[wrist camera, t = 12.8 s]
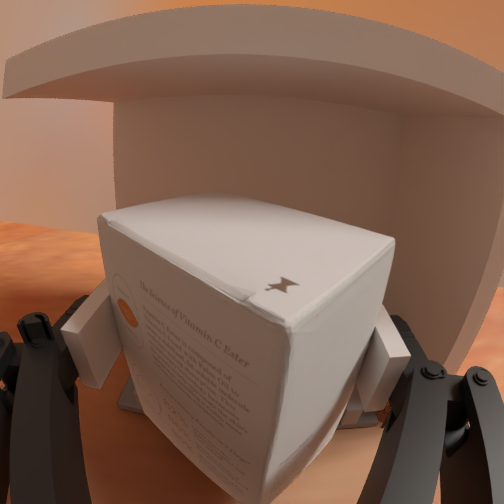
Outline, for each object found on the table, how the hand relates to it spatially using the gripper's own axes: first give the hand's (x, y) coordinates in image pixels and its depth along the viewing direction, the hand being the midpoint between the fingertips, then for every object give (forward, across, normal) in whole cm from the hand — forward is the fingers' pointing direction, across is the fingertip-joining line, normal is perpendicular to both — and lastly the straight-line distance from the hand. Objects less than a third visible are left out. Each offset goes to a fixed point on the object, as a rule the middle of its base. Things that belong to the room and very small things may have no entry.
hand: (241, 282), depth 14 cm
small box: (-4, 0, -6) cm, 8 cm away
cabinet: (+4, +1, -8) cm, 9 cm away
